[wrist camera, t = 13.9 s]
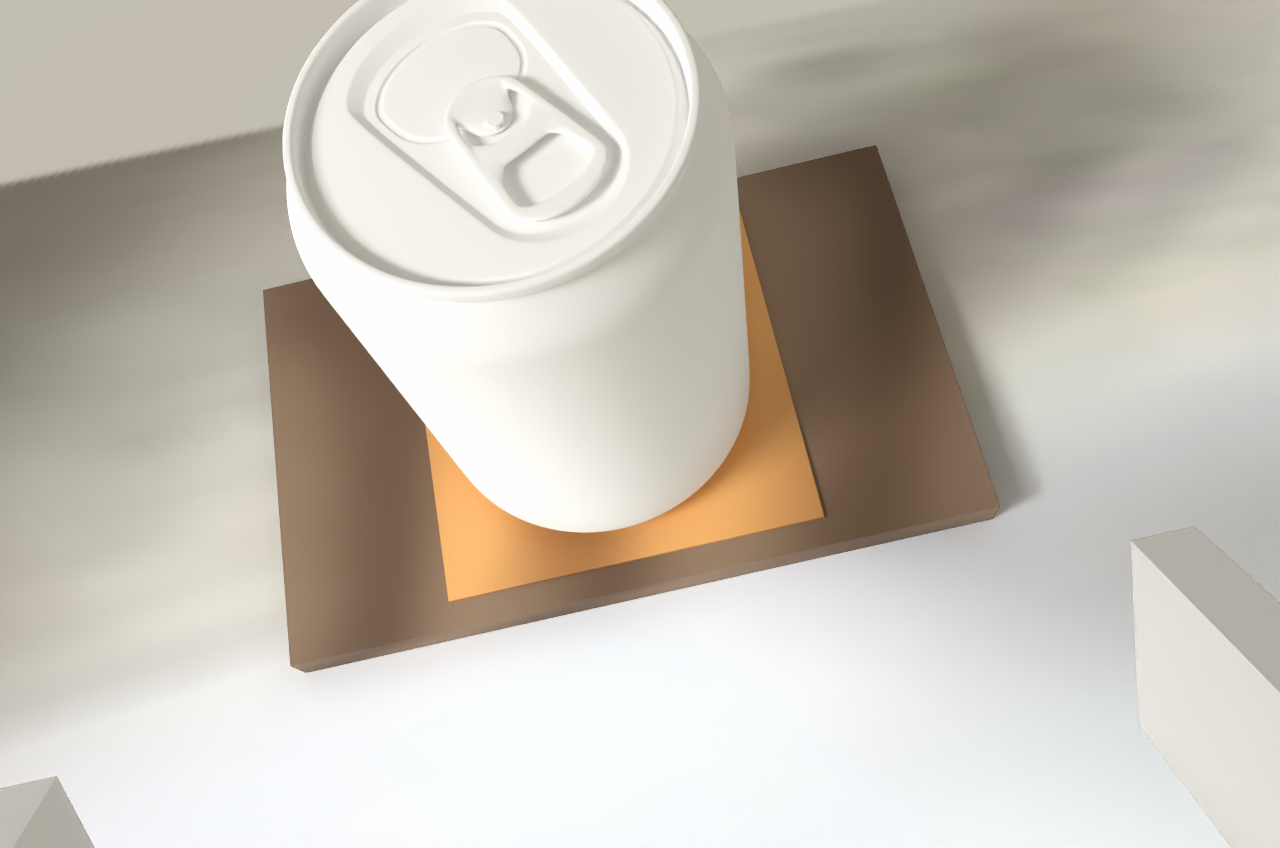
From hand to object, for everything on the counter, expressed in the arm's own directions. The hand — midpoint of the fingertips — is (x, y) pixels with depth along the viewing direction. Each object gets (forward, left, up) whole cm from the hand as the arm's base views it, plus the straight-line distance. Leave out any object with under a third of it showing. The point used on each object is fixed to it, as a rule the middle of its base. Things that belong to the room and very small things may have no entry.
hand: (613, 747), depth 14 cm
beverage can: (0, +11, -13) cm, 17 cm away
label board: (0, +11, -14) cm, 18 cm away
